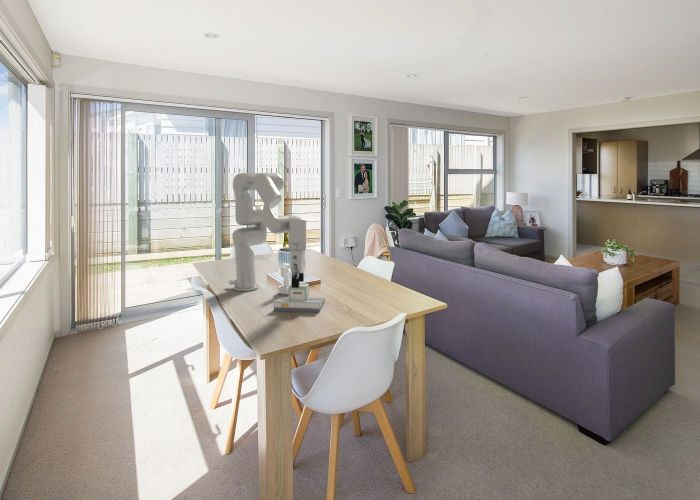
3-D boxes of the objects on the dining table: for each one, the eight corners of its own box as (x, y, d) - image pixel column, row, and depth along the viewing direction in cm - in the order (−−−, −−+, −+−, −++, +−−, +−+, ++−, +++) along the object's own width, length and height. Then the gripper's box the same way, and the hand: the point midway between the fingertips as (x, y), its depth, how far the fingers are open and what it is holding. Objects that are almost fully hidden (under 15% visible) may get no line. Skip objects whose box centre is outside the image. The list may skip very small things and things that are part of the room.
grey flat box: (273, 311, 180) (273, 301, 179) (282, 300, 196) (282, 290, 195) (319, 312, 178) (319, 302, 177) (324, 301, 194) (324, 291, 193)
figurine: (296, 291, 211) (296, 262, 209) (290, 296, 202) (289, 266, 200) (283, 290, 213) (282, 261, 210) (276, 295, 204) (275, 265, 201)
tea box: (309, 303, 186) (308, 283, 185) (306, 306, 181) (306, 286, 180) (291, 302, 187) (290, 283, 186) (288, 306, 182) (288, 286, 181)
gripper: (302, 250, 171) (302, 290, 174) (309, 242, 188) (309, 279, 191) (284, 249, 171) (284, 289, 175) (293, 242, 188) (293, 279, 192)
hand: (297, 284), depth 183 cm, fingers open, 9 cm apart
